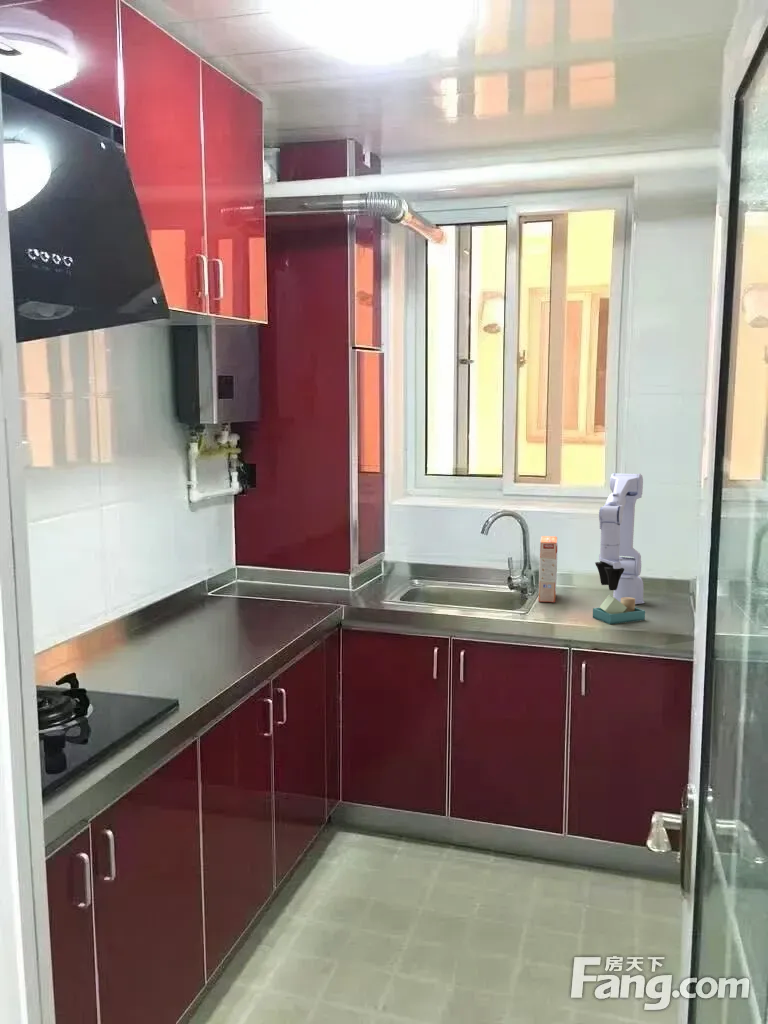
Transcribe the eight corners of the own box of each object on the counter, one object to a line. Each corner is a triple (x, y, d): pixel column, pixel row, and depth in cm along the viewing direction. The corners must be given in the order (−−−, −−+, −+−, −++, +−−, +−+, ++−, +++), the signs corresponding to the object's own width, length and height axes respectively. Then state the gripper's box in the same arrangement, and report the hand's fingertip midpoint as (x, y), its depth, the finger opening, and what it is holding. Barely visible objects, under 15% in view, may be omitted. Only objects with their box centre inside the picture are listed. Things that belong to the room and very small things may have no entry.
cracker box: (556, 603, 296) (557, 542, 293) (538, 602, 297) (539, 541, 295) (556, 594, 310) (557, 535, 307) (539, 593, 311) (540, 535, 308)
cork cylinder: (628, 613, 279) (628, 596, 278) (637, 616, 275) (638, 599, 274) (617, 615, 277) (617, 598, 276) (626, 618, 273) (627, 600, 272)
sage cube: (599, 607, 274) (609, 594, 274) (611, 616, 275) (621, 603, 275) (604, 610, 269) (615, 598, 269) (616, 620, 270) (627, 607, 270)
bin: (626, 613, 281) (626, 604, 281) (644, 620, 273) (645, 610, 272) (592, 617, 276) (592, 608, 276) (610, 624, 268) (610, 614, 267)
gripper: (630, 547, 263) (629, 592, 265) (614, 540, 277) (613, 582, 279) (607, 548, 262) (606, 592, 264) (593, 540, 277) (592, 582, 278)
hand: (608, 587), depth 272 cm, fingers open, 7 cm apart
